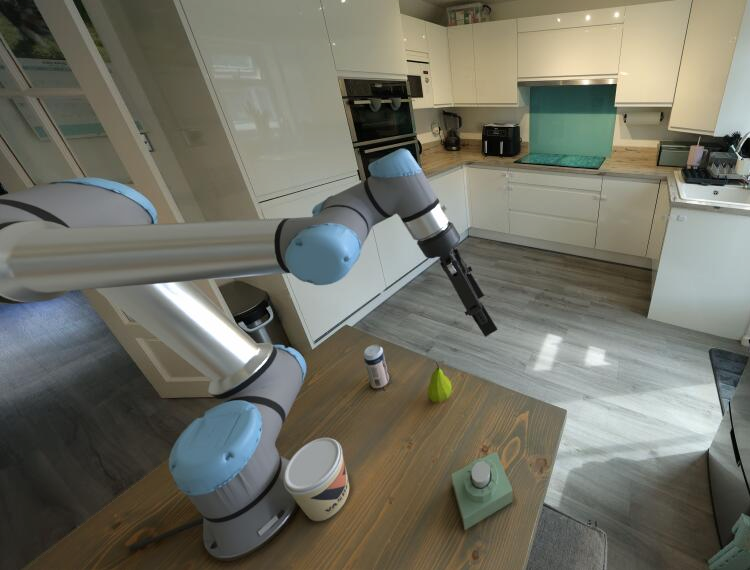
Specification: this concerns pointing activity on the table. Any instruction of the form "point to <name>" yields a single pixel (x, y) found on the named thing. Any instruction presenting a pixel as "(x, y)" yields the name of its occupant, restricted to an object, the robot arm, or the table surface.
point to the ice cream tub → (318, 478)
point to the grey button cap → (480, 474)
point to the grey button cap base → (481, 491)
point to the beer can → (376, 366)
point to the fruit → (439, 386)
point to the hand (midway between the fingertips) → (484, 313)
